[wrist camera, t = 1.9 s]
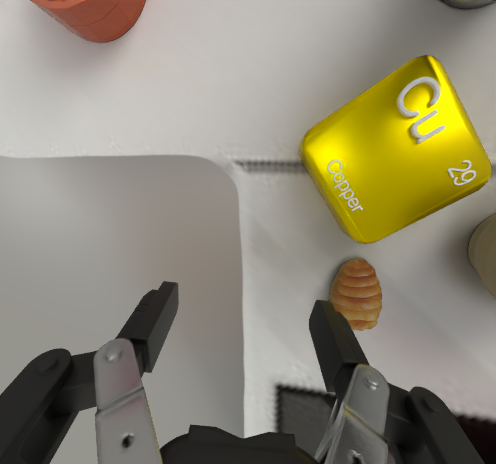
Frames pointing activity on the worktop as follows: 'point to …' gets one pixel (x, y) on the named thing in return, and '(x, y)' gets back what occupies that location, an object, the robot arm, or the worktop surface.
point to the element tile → (396, 152)
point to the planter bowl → (485, 253)
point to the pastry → (357, 294)
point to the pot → (94, 16)
